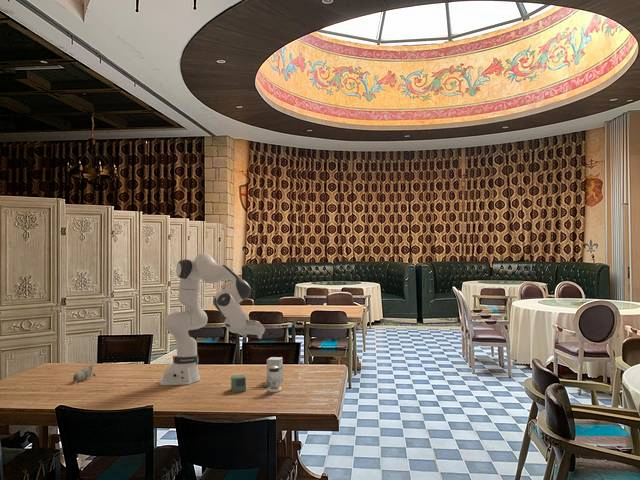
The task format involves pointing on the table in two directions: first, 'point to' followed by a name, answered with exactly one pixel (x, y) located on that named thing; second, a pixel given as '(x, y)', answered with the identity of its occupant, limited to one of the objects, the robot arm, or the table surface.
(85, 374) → the decorative bird
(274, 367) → the grey-lidded jar
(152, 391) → the table surface
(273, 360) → the supplement box
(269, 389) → the cream dome cap
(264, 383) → the disc
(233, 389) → the block
